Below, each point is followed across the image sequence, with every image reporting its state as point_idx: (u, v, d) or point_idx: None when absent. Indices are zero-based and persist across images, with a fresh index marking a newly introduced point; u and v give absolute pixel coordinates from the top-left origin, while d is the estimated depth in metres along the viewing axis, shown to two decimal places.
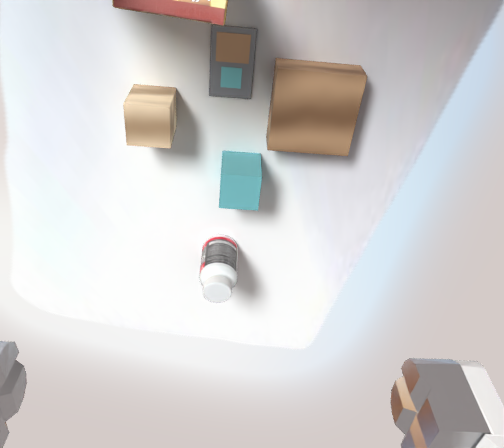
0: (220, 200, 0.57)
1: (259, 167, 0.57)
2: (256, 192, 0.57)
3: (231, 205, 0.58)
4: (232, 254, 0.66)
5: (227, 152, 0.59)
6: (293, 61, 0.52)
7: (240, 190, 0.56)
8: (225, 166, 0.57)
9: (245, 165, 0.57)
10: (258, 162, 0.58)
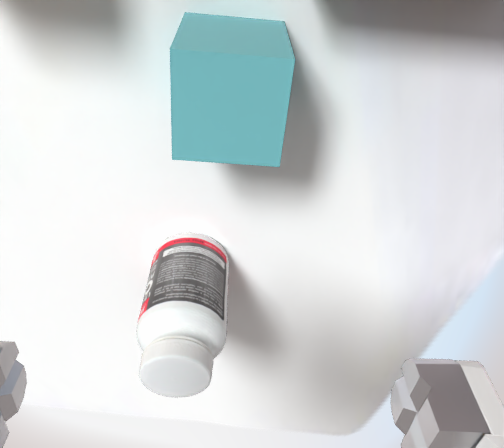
0: (174, 137, 0.20)
1: (284, 42, 0.20)
2: (276, 112, 0.20)
3: (207, 153, 0.21)
4: (215, 278, 0.29)
5: (197, 15, 0.22)
6: None
7: (231, 103, 0.19)
8: (187, 36, 0.20)
9: (245, 36, 0.20)
10: (281, 34, 0.21)
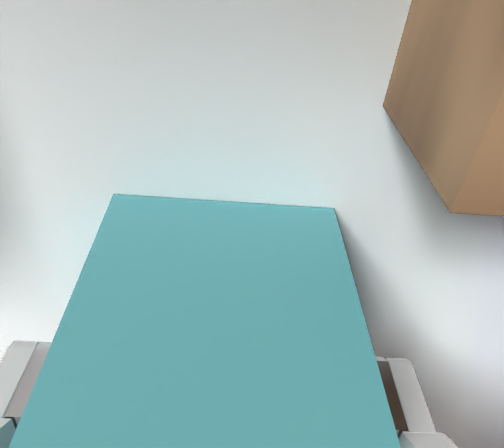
0: None
1: (355, 337, 0.07)
2: None
3: None
4: None
5: (139, 209, 0.10)
6: None
7: None
8: (85, 344, 0.07)
9: (250, 317, 0.08)
10: (337, 284, 0.08)
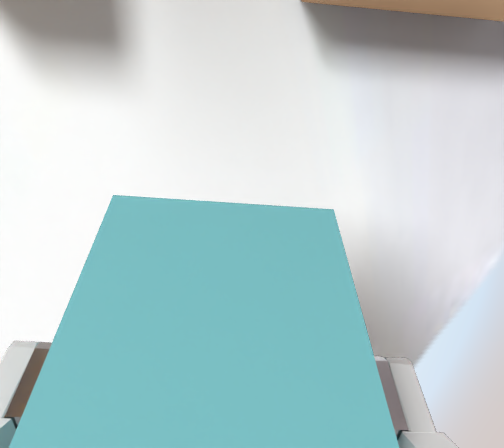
0: None
1: (354, 338, 0.08)
2: None
3: None
4: None
5: (139, 210, 0.10)
6: None
7: None
8: (84, 345, 0.07)
9: (250, 318, 0.08)
10: (336, 285, 0.08)
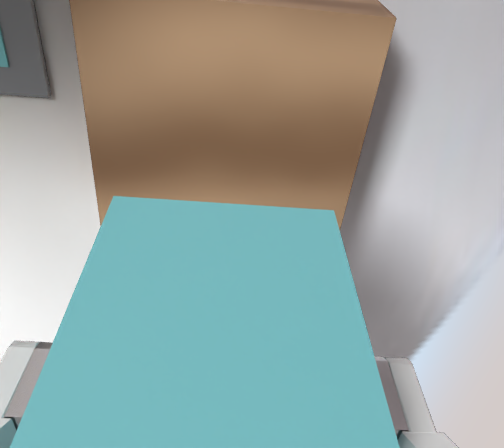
0: None
1: (355, 340, 0.07)
2: None
3: None
4: None
5: (139, 210, 0.10)
6: None
7: None
8: (85, 347, 0.07)
9: (250, 319, 0.08)
10: (337, 286, 0.08)
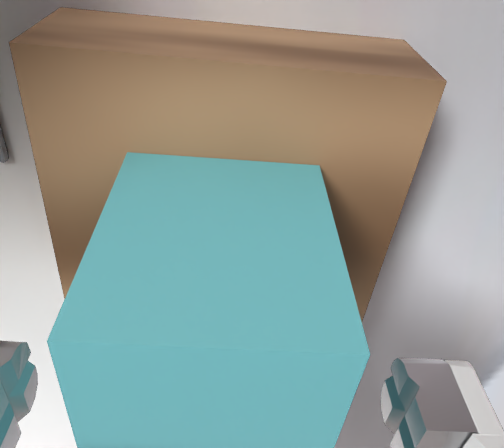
0: None
1: (332, 258, 0.09)
2: (316, 430, 0.09)
3: None
4: None
5: (149, 163, 0.11)
6: (127, 19, 0.13)
7: (212, 420, 0.08)
8: (110, 259, 0.08)
9: (245, 243, 0.09)
10: (319, 221, 0.10)
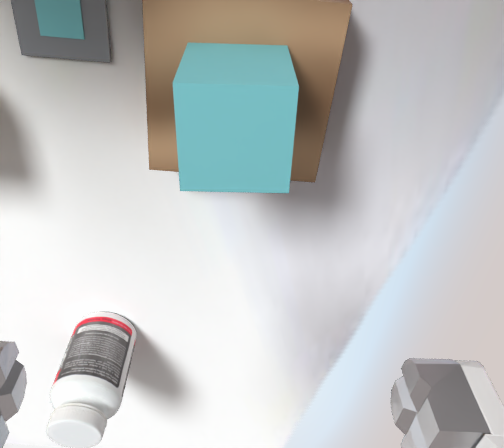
0: (181, 168, 0.20)
1: (288, 68, 0.20)
2: (283, 139, 0.19)
3: (215, 182, 0.21)
4: (116, 351, 0.37)
5: (200, 45, 0.22)
6: None
7: (237, 133, 0.19)
8: (190, 68, 0.19)
9: (248, 64, 0.20)
10: (284, 59, 0.21)
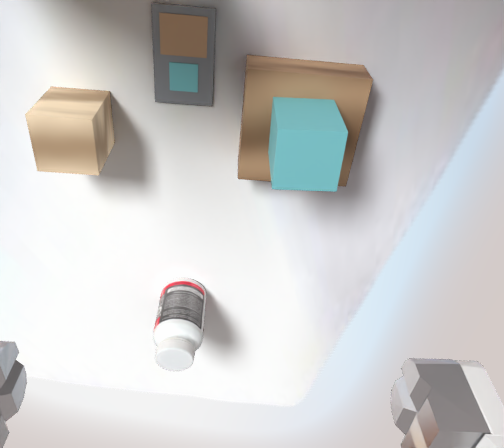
0: (275, 176, 0.34)
1: (339, 118, 0.34)
2: (336, 160, 0.34)
3: (293, 184, 0.35)
4: (197, 305, 0.51)
5: (281, 99, 0.36)
6: (270, 59, 0.38)
7: (310, 156, 0.33)
8: (282, 118, 0.34)
9: (315, 115, 0.34)
10: (335, 111, 0.35)
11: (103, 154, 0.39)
